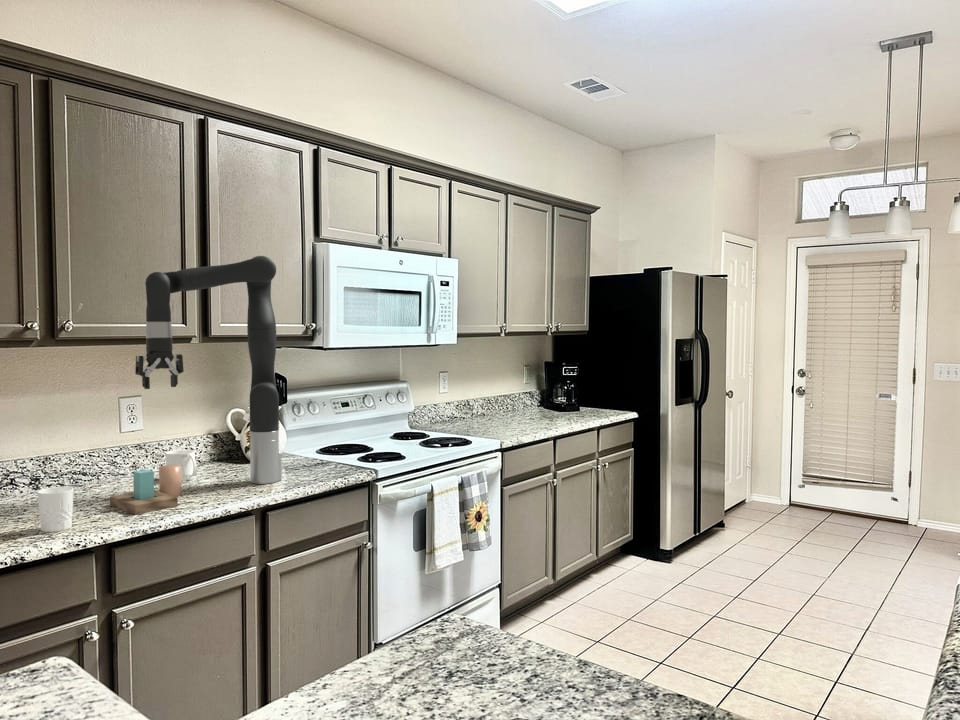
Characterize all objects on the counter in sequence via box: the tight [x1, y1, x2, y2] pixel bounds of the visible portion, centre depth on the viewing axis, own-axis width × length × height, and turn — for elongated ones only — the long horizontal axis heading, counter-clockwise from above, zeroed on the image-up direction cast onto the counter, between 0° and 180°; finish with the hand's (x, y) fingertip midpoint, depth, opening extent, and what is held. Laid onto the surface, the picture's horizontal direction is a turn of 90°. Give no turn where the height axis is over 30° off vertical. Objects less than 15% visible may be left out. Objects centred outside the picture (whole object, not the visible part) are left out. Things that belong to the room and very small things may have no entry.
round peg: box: [158, 464, 183, 497], centre depth 212 cm, size 6×6×9 cm
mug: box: [165, 449, 198, 482], centre depth 235 cm, size 12×9×9 cm
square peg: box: [132, 469, 155, 500], centre depth 200 cm, size 4×4×10 cm
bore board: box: [109, 489, 179, 516], centre depth 200 cm, size 12×16×2 cm
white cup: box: [36, 486, 74, 533], centre depth 176 cm, size 8×8×10 cm
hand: (160, 387), depth 217 cm, fingers open, 8 cm apart
